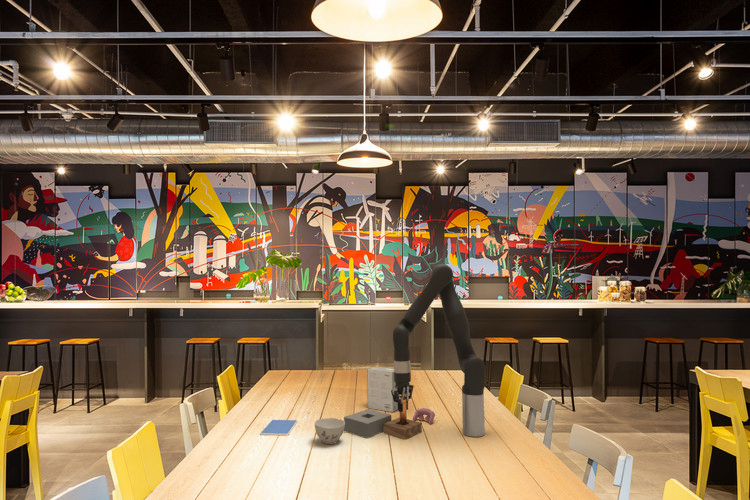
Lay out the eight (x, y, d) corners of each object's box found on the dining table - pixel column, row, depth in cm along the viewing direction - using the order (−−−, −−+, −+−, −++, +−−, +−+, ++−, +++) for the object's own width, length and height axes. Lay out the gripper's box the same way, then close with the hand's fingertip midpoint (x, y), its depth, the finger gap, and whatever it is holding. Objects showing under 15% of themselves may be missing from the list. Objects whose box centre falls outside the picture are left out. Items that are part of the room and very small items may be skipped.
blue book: (271, 422, 209) (271, 419, 209) (298, 422, 208) (298, 419, 208) (259, 436, 189) (259, 433, 189) (288, 437, 189) (288, 433, 189)
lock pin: (402, 420, 195) (402, 397, 195) (408, 422, 193) (407, 398, 193) (398, 422, 192) (397, 399, 193) (403, 424, 190) (403, 400, 191)
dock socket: (368, 421, 206) (368, 408, 207) (391, 428, 197) (391, 414, 198) (344, 430, 194) (344, 417, 195) (367, 438, 185) (367, 423, 186)
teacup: (341, 448, 174) (341, 427, 175) (310, 446, 176) (310, 426, 177) (348, 435, 189) (348, 416, 190) (320, 433, 191) (320, 414, 192)
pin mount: (400, 426, 200) (400, 417, 201) (421, 432, 193) (421, 422, 193) (383, 433, 191) (383, 423, 192) (405, 439, 184) (405, 429, 184)
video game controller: (434, 426, 205) (436, 410, 208) (430, 424, 202) (433, 408, 205) (415, 422, 210) (417, 407, 213) (411, 420, 207) (414, 405, 210)
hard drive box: (400, 409, 227) (400, 369, 228) (392, 412, 221) (392, 372, 222) (374, 404, 235) (374, 366, 237) (366, 408, 229) (366, 369, 230)
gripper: (405, 367, 202) (405, 405, 201) (385, 372, 191) (386, 412, 190) (418, 369, 197) (419, 408, 196) (399, 374, 186) (399, 416, 185)
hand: (402, 410), depth 193 cm, fingers closed on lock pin, 3 cm apart
